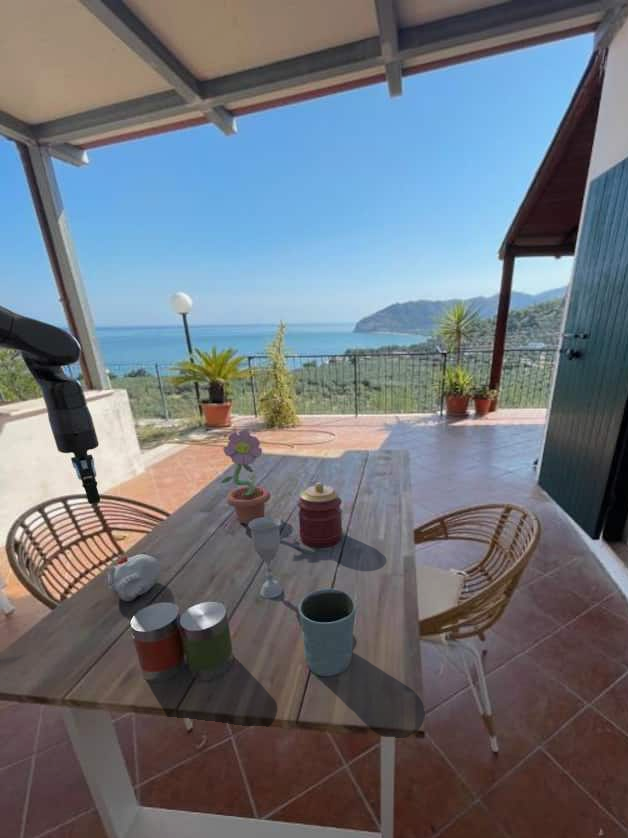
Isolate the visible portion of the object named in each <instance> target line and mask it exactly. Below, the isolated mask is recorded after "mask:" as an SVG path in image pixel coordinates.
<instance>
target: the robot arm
mask: <svg viewBox="0 0 628 838" xmlns="http://www.w3.org/2000/svg"><path fill="white" fill-rule="evenodd" d="M0 349H5V350H13V351H19V352H20V355H21V358H22V360H23V362H24V364H25V366H26V368H27V369H28V370H29V373H30V374H31V376H32V377H33V379H34V381H35V382H36V384H37V385H38V387H39V389H40V391H41V394H42V398H43V401H44V405H45V407H46V411H47V417H48V422H49V425H50V429H51V432H52V436H53V438H54V439H53V440H54V442H55V445H56V448H57V451H58V452H59V453H62V454H71V453H72V454H73V455H74V456H72V457H70V460H71V465H72V467H73V468H74V469H75V472H76V476H77V479H78V480H79V481H80V480H81V483H82V484H81V487H82V488H83V489H84V492H85V495H86V498H87V502H88V504H91V505H92V504H97V503H99V502H101V498H100V497H101V496H100V494H99V491H98V481H97V480H96V477H97V471H96V468H95V459H94V457H93V455H92V453H91V454H88V451H89V450H91V451H92V450H95V449H96V448H98V447H99V445H100V443H99V440H98V435H97V433H96V428H95V424H94V421H93V416H92V413H91V412H90V410H89V407H88V403H87V400H86V395H85V392H84V389H83V385H82V384H81V382H80V381H79V380H78V379H76V378H74V377H71V376H69V375H68V374H67V373H66V371H65V369H64V368H63V367H68V366H72V365H75V364H76V363H77V362H79V361H80V359H81V357H82V347H81V345H80V343H79V341H78V340H77V339H76V337H74V335H72V334H71V333H69V332H68V331H66V330H65V329H63V328H61V327H58V326H56V325H53V324H50V323H47V322H44V321H41V320H39V319H34V318H31V317H28V316H25V315H21V314H19V313H16V312H14V311H12V310H10V309H8V308H6V307H4V306H2V305H0Z"/></svg>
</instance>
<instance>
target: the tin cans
mask: <svg viewBox="0 0 628 838" xmlns="http://www.w3.org/2000/svg"><path fill="white" fill-rule="evenodd" d="M179 609H180V608H179V607H178V606H177V605H176V604H175V603H173V602H158V603H153V604H150V605H147V606H145V607H143V608H142V609H140V610H139V611H137V612H136V613H135V614H134V615H133V617H131V620H130V628H131V632H132V639H133V643H134V647H135V651H136V655H137V659H138V662H139V666H140V668H141V673H142V676H143V678H144V679H145V680H147V681H148V682H152V683H153V682H154V683H158V682H159V683H160V682H165V681H168V680H170V679H172V678H174V677H176V676H177V675H179V674H180V673H181V672H182V671H183V670H184V669H185V668H186V666H187V665H188V670H189V674H190V676H191V677H192V678H193V679H195V680H197V681H201V682H205V681H212V680H216V679H218V678H219V677H221V676H222V675H224V674H226V673H227V672H228V671H229V669H230V668H231V667H232V665H233V662H234V656H233V655H234V654H233V645H232V639H231V633H230V632H231V631H230V624H229V619H228V614H227V609H226V606H225V605H224V604H223V603H220V602H217V601H204V602H200V603H197V604H195V605H192V606H191V607H189V608H187V609H186V610H185V611H184V612H183V613H182V614H180V610H179Z"/></svg>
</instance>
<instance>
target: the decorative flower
mask: <svg viewBox="0 0 628 838" xmlns="http://www.w3.org/2000/svg"><path fill="white" fill-rule="evenodd" d="M227 439H228V443H227V445H226V446H224V447H223V448H222V450H223V452H224V454H225V456H227V457H229V458H230V459H231V462H232V463H233V464H236V466H235V468H234V470H233V474H232V475H231V476H230V475H229V476H226V477H224V478H223V479H222V480H221V482H220V484H226V483H229V482H231V481H232V482H233V483H234V484H235V485H237V486H243V487H238V488H235V489H233V490H232V491H230V492H229V493H228V494H227V495H226V503H227V504H228V505H229V506H231V507H234V510H235V514H236V518H237V519H236V520H238V522H239V523H241V524H243V523H244V524H243V525H248V524H249V522H251V521H252V520H254V519H257V518H261V517H265V503H268V501H269V500H270V499H271V493H270V491H269V490H268V489H267V488H265V487H263V486H256V485H255V483H254V482H253V481H254V480H255V477H256V475H253V476H252V475H251V477H250V479H240V478H239V476H240V473H241V470H242V468H244V469H245V470H246V471H247V472H249V473H254V470H253V469H252V468H251V466H250V465H251V464H254V463H255V462H256V461H255V460H256V459H257V458H260V457H261V456H262V453H263V449H262V448H261V447H260V445H261V443H260V441H259V438H258V437H256V436H253V435H251V432H250V431H248V430H239V431H238V433H237V432H232V433H231V434H230V435H229V436H228V438H227Z"/></svg>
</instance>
